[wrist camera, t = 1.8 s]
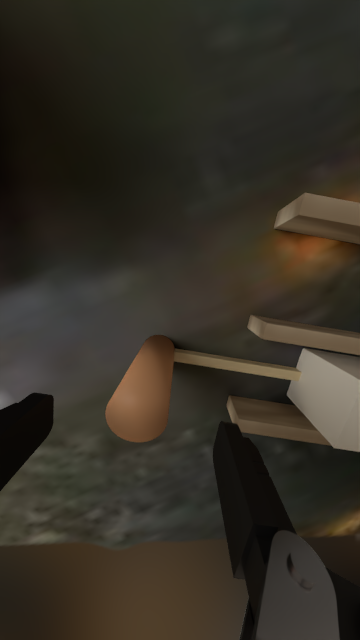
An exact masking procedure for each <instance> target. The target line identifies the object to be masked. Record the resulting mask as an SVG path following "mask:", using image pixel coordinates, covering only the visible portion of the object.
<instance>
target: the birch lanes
mask: <svg viewBox="0 0 360 640" xmlns="http://www.w3.org/2000/svg"><path fill="white" fill-rule="evenodd" d="M274 229H279V230H285V231H290V232H296V233H301V234H307V235H312V236H317V237H323V238H328V239H334V240H339V241H345V242H350V243H356V244H360V203H356V202H351V201H346V200H341V199H335V198H330V197H325V196H319V195H314V194H309V193H304V194H303V195H301V196H300V197H298V198H297V199H296V200H294V201H293V202H291V203H290V204H288V205H287V206H286V207H284V208H283V209H281V210H280V211H278V214H277V218H276V222H275V226H274ZM247 328H248V329H250V330H251V331H252V332H254V333H255V334H256V335H258V336H259V337H260V338H262V339H266V340H272V341H278V342H284V343H290V344H296V345H302V346H308V347H314V348H320V349H326V350H332V351H338V352H344V353H350V354H356V355H360V333H356V332H350V331H344V330H338V329H332V328H326V327H321V326H315V325H309V324H303V323H297V322H291V321H285V320H279V319H273V318H267V317H261V316H255V315H250V319H249V323H248V327H247ZM226 406H227V409H228V412H229V414H230V417H231V420H232V423H236V424H238V426H239V428H240V431H241V432H245V433H252V434H258V435H265V436H271V437H278V438H285V439H291V440H298V441H304V442H311V443H318V444H324V445H331V444H330V443H329V442H328V441H327V440H326V438H325V437H324V436H323V435H322V434H321V433H320V432H319V431H318V430H317V428H316V427H315V426H314V425H313V424H312V423H311V422H310V421H309V419H308V418H307V417H306V416H305V415H304V414H303V413H302V412H301V411H300V409H299V408H298V407H297V406H295V405H289V404H282V403H276V402H270V401H263V400H257V399H250V398H244V397H238V396H231V395H229V398H228V401H227V405H226ZM331 446H332V445H331Z"/></svg>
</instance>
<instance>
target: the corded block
mask: <svg viewBox="0 0 360 640" xmlns="http://www.w3.org/2000/svg"><path fill="white" fill-rule="evenodd" d="M174 361H175V362H181V363H188V364H194V365H200V366H206V367H213V368H219V369H225V370H231V371H238V372H244V373H250V374H256V375H263V376H269V377H275V378H281V379H288V380H292V381H291V383H290V386H289V389H288V392H287V396H288V397H289V398H290V399H291V401H292V402H293V403H294V404H295V405H296V406H297V407H298V408H299V409H300V411H301V412H302V413H303V414H304V415H305V416H306V417H307V418H308V419H309V421H310V422H311V423H312V424H313V425H314V426H315V427H316V428H317V430H318V431H319V432H320V433H321V434H322V435H323V436H324V437H325V438H326V440H327V441H328V442H329V443H330V444H331V445H332V446H333V447H334V448H337V449H344V450H350V451H357V452H360V357H355V356H349V355H343V354H337V353H331V352H325V351H319V350H313V349H307V348H303V350H302V352H301V355H300V358H299V361H298V364H297V367H296V368H293V367H287V366H281V365H275V364H269V363H262V362H256V361H250V360H244V359H238V358H231V357H225V356H219V355H213V354H207V353H201V352H194V351H188V350H182V349H176V348H175V347H174V344H173V343H172V341H171V340H170V339H169V338H167V337H165V336H163V335H154V336H151V337H149V338H148V339H147V340H146V341H145V342H144V344H143V346H142V347H141V349H140V351H139V352H138V354H137V356H136V357H135V359H134V361H133V362H132V364H131V366H130V368H129V369H128V371H127V373H126V374H125V376H124V378H123V379H122V381H121V383H120V384H119V386H118V388H117V389H116V391H115V393H114V394H113V396H112V398H111V399H110V401H109V403H108V405H107V407H106V412H105V416H106V421H107V423H108V426H109V427H110V429H111V430H112V431H113V432H114V433H115V434H116V435H118V436H119V437H121V438H122V439H125V440H128V441H131V442H146V441H150V440H153V439H154V438H156V437H158V436H159V435H160V434H161V433H162V432H163V431H164V429H165V428H166V425H167V422H168V413H169V403H170V393H171V383H172V374H173V364H174Z"/></svg>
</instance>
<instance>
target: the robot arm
mask: <svg viewBox="0 0 360 640" xmlns="http://www.w3.org/2000/svg"><path fill="white" fill-rule="evenodd" d="M53 403H54V399H53V396H52V395H48V394H41V393H32V394H30V395H29V396H27V397H26V398H25V399H23V400H22V401H21V402H19V403H14V404H12V405H10V406H8V407H6V408H3V409H1V410H0V491H1V490H2V488H3V487H4V486H5V485H6V484H7V483H8V482H9V480H10V479H11V478H12V477H13V476H14V475H15V473H16V472H17V471H18V470H19V469H20V468H21V467H22V465H23V464H24V463H25V462H26V461H27V460H28V458H29V457H30V456H31V455H32V454H33V453H34V452H35V450H36V449H37V448H38V447H39V446H40V445H41V443H42V442H43V441H44V440H45V439H46V438H47V436H48V435H49V433H50V431H51V429H52V426H53ZM213 463H214V469H215V475H216V480H217V486H218V492H219V497H220V503H221V509H222V514H223V520H224V526H225V532H226V537H227V543H228V549H229V554H230V560H231V565H232V571H233V577H234V578H237V579H245V581H246V585H247V590H248V595H249V599H248V603H247V606H246V611H245V616H244V620H243V625H242V629H241V634H240V639H239V640H360V587H359V586H357V585H355V584H353V583H351V582H350V581H348V580H346V579H344V578H343V577H341V576H339V575H337V574H335V573H334V572H332V571H331V570H329V569H328V568H326V567H325V566H324V564H323V563H322V561H321V560H320V558H319V557H318V555H317V554H316V553H315V551H314V550H313V549H312V548H311V547H310V546H309V545H308V544H307V543H306V542H305V541H304V540H303V539H302V538H300V537H299V536H298V535H297V533H296V532H295V530H294V528H293V526H292V523H291V521H290V519H289V517H288V515H287V512H286V510H285V508H284V506H283V504H282V501H281V499H280V497H279V495H278V492H277V490H276V488H275V486H274V484H273V481H272V479H271V477H269V473H268V470H267V468H266V466H265V465H264V462H263V459H262V457H261V455H260V453H259V451H258V449H257V448H256V446H255V445H254V444H253V443H252V442H251V440H250V439H249V438H244V437H243V436H242V433H241V431H240V428H239V426H238V424H236V423H229V422H223V421H221V422H220V424H219V428H218V432H217V436H216V439H215V443H214V448H213Z"/></svg>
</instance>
